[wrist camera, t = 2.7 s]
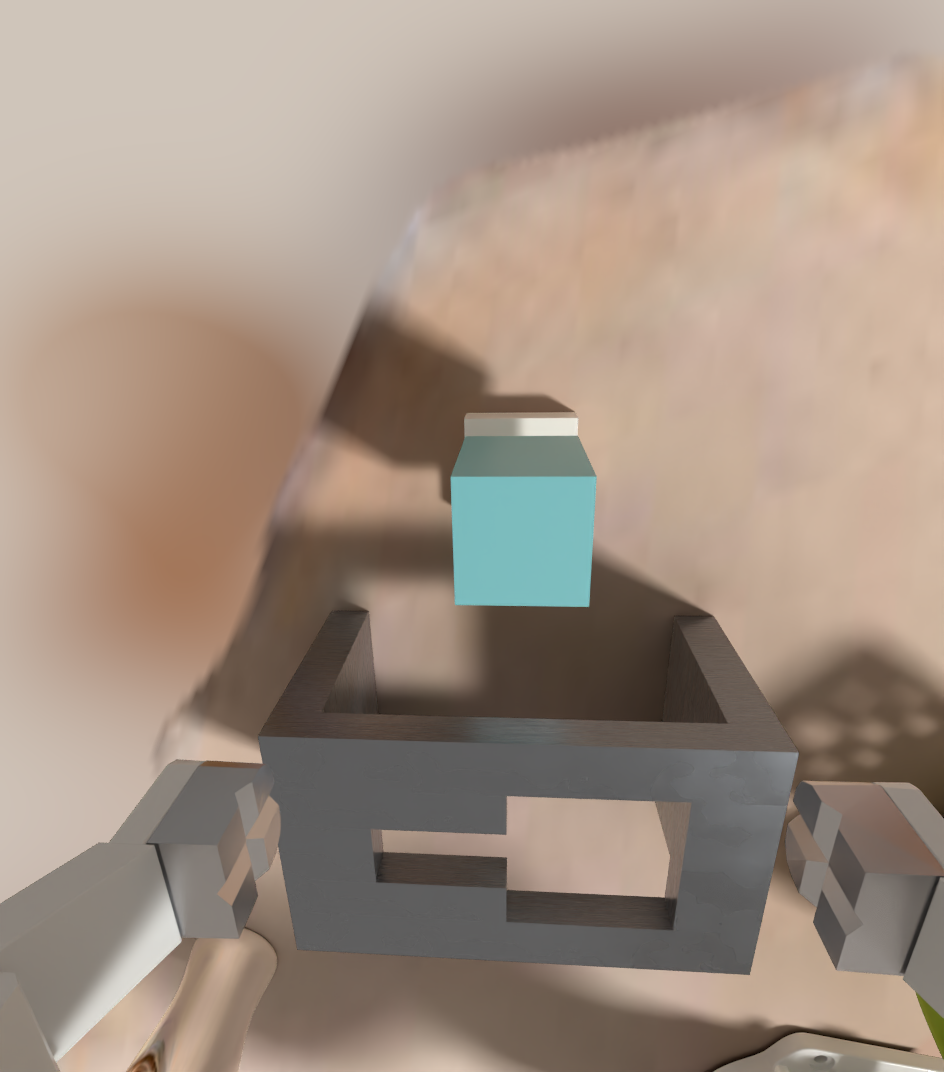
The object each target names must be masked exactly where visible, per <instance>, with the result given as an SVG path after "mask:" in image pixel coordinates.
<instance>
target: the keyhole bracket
mask: <svg viewBox="0 0 944 1072" xmlns="http://www.w3.org/2000/svg"><path fill="white" fill-rule="evenodd" d="M258 740H259V745H260V751H261V756H262V762H263V764H266V765H268V766H270V767H271V769H272V773H273V778H274V782H275V784H274V786H273V788H272V790H271V792H270V794H269V796H270V797H271V798H272V799H273V800H274V801H275V802H276V803H277V804H278V805H279V810H280V816H281V832H280V837H279V842H278V848H279V853H280V859H281V864H282V869H283V875H284V880H285V886H286V891H287V896H288V902H289V907H290V913H291V918H292V923H293V929H294V934H295V939H296V945H297V950H312V951H330V952H348V953H366V954H384V955H402V956H420V957H438V958H456V959H474V960H492V961H510V962H528V963H546V964H564V965H582V966H600V967H618V968H636V969H654V970H672V971H690V972H708V973H726V974H744V975H750V971H751V967H752V962H753V958H754V953H755V949H756V944H757V940H758V935H759V931H760V926H761V922H762V917H763V913H764V908H765V904H766V899H767V895H768V890H769V886H770V881H771V877H772V872H773V868H774V863H775V859H776V854H777V850H778V846H779V841H780V837H781V832H782V828H783V823H784V819H785V814H786V810H787V805H788V801H789V796H790V792H791V787H792V783H793V778H794V774H795V769H796V765H797V760H798V756H799V752H798V750H797V748H796V747H795V745H794V744H793V742H792V740H791V739H790V737H789V736H788V734H787V732H786V731H785V729H784V728H783V726H782V724H781V723H780V721H779V720H778V718H777V716H776V715H775V713H774V712H773V710H772V708H771V707H770V705H769V704H768V702H767V700H766V699H765V697H764V696H763V694H762V692H761V691H760V689H759V688H758V686H757V684H756V683H755V681H754V680H753V678H752V676H751V675H750V673H749V672H748V670H747V668H746V667H745V665H744V664H743V662H742V660H741V659H740V657H739V656H738V654H737V652H736V651H735V649H734V648H733V646H732V644H731V643H730V641H729V640H728V638H727V636H726V635H725V633H724V632H723V630H722V628H721V627H720V625H719V624H718V622H717V620H716V619H715V617H714V616H674V622H673V631H672V640H671V648H670V657H669V666H668V674H667V683H666V692H665V700H664V709H663V718H662V722H644V721H607V720H570V719H533V718H496V717H459V716H422V715H385V714H378V705H377V695H376V684H375V673H374V663H373V652H372V641H371V631H370V620H369V611H332V612H331V613H330V615H329V617H328V618H327V620H326V622H325V624H324V625H323V627H322V629H321V630H320V632H319V634H318V635H317V637H316V639H315V640H314V642H313V644H312V646H311V647H310V649H309V651H308V652H307V654H306V656H305V657H304V659H303V661H302V662H301V664H300V666H299V668H298V669H297V671H296V673H295V674H294V676H293V678H292V679H291V681H290V683H289V684H288V686H287V688H286V690H285V691H284V693H283V695H282V696H281V698H280V700H279V701H278V703H277V705H276V706H275V708H274V710H273V712H272V713H271V715H270V717H269V718H268V720H267V722H266V723H265V725H264V727H263V728H262V730H261V732H260V734H259V735H258ZM507 796H523V797H551V798H578V799H606V800H633V801H655V803H656V807H657V810H658V814H659V818H660V821H661V825H662V829H663V832H664V836H665V839H666V843H667V847H668V850H669V854H670V862H669V870H668V877H667V884H666V892H665V898H661V897H640V896H619V895H598V894H577V893H555V892H534V891H513V890H507V858H503V857H480V856H457V855H434V854H411V853H388V852H383V842H382V832H381V830H404V831H428V832H453V833H477V834H502V835H506V827H507Z"/></svg>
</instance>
